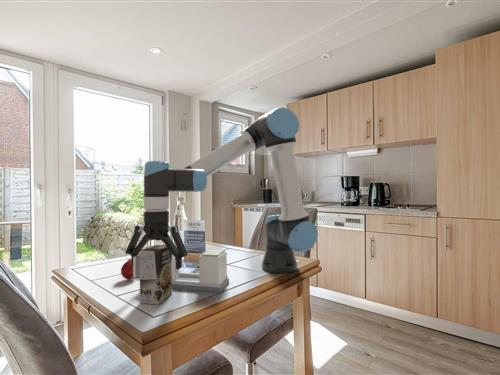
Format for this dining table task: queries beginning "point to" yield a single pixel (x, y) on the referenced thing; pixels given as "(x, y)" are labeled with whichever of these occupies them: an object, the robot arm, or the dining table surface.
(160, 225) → the robot arm
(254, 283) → the dining table surface
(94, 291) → the dining table surface
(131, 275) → the onion
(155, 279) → the coffee box
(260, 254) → the dining table surface
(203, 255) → the white slotted block
